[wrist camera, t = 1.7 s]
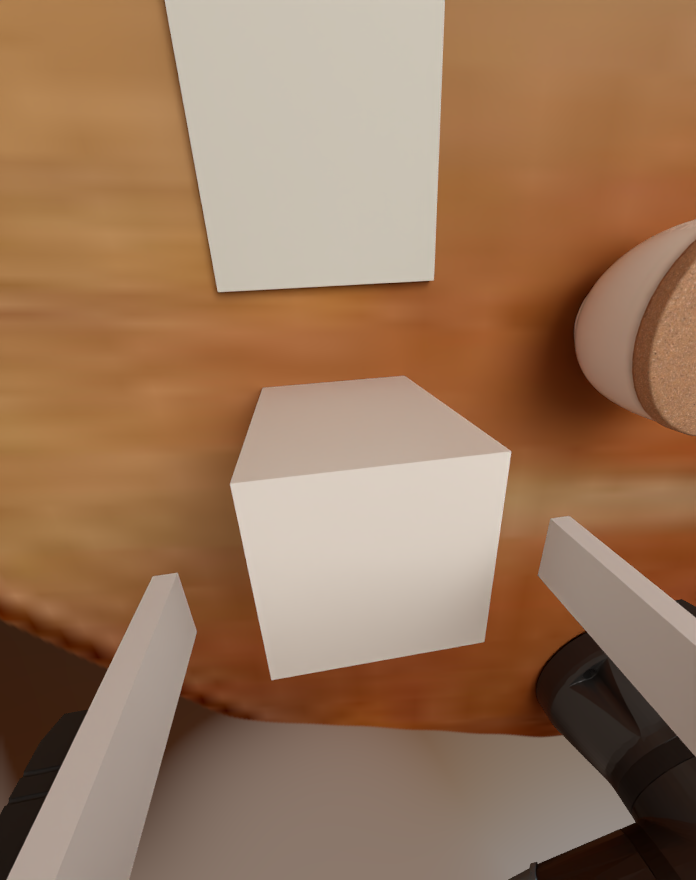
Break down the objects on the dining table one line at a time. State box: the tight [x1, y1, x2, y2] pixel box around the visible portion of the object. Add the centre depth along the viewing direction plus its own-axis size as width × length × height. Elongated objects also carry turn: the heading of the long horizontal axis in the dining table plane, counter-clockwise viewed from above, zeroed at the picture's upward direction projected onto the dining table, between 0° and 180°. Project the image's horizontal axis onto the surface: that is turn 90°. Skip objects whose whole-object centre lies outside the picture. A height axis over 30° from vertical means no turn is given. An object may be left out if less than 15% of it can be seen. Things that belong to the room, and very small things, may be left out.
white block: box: [230, 376, 511, 680], centre depth 18 cm, size 9×9×12 cm
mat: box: [165, 0, 445, 292], centre depth 17 cm, size 14×12×1 cm
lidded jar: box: [574, 219, 696, 436], centre depth 19 cm, size 11×11×9 cm
